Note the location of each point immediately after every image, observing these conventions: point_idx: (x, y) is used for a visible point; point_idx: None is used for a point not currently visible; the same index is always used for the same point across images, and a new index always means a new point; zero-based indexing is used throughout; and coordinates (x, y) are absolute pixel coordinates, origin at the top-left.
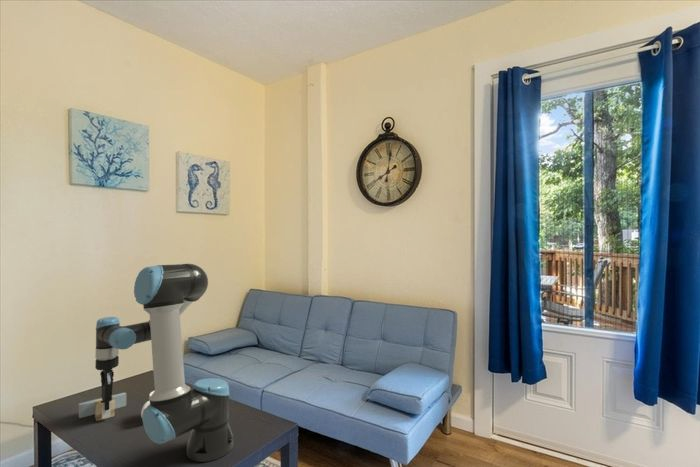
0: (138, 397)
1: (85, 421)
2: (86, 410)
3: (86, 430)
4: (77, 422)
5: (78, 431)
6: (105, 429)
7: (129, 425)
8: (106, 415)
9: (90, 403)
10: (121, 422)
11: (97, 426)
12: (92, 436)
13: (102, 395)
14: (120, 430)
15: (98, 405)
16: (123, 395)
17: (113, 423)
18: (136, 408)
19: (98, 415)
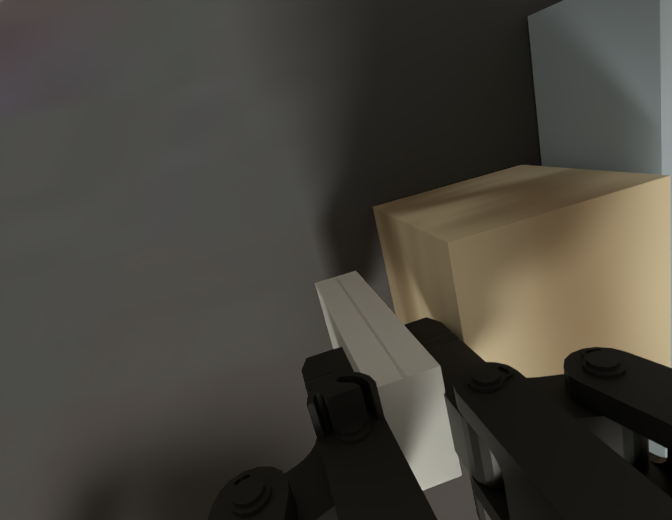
0: None
1: (421, 97)
2: (584, 75)
3: (190, 147)
4: (437, 13)
5: (199, 62)
6: (138, 331)
7: (144, 515)
8: (329, 330)
9: (655, 112)
10: (239, 437)
11: (244, 241)
12: (9, 238)
13: (526, 424)
14: (61, 468)
15: (450, 267)
16: (658, 451)
17: (248, 374)
18: (469, 487)
19: (393, 235)
